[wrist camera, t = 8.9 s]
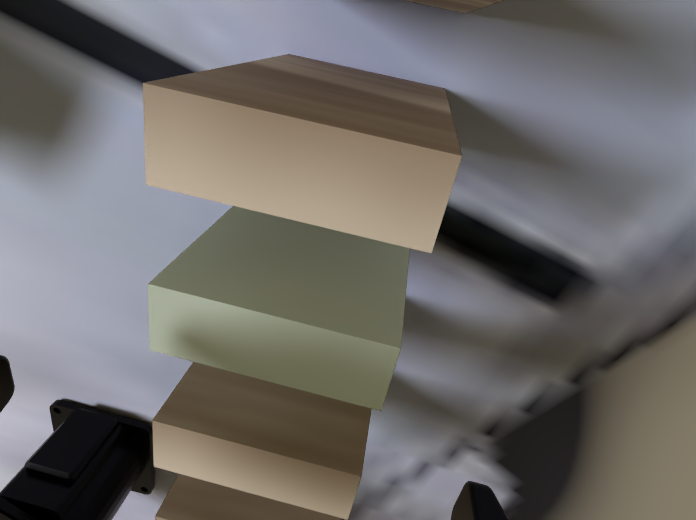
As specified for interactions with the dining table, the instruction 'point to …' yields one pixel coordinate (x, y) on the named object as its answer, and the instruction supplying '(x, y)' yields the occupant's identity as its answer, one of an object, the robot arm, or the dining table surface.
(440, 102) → the domino
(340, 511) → the domino
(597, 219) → the dining table surface
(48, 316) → the dining table surface
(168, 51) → the dining table surface
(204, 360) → the domino
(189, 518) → the domino
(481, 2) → the domino
